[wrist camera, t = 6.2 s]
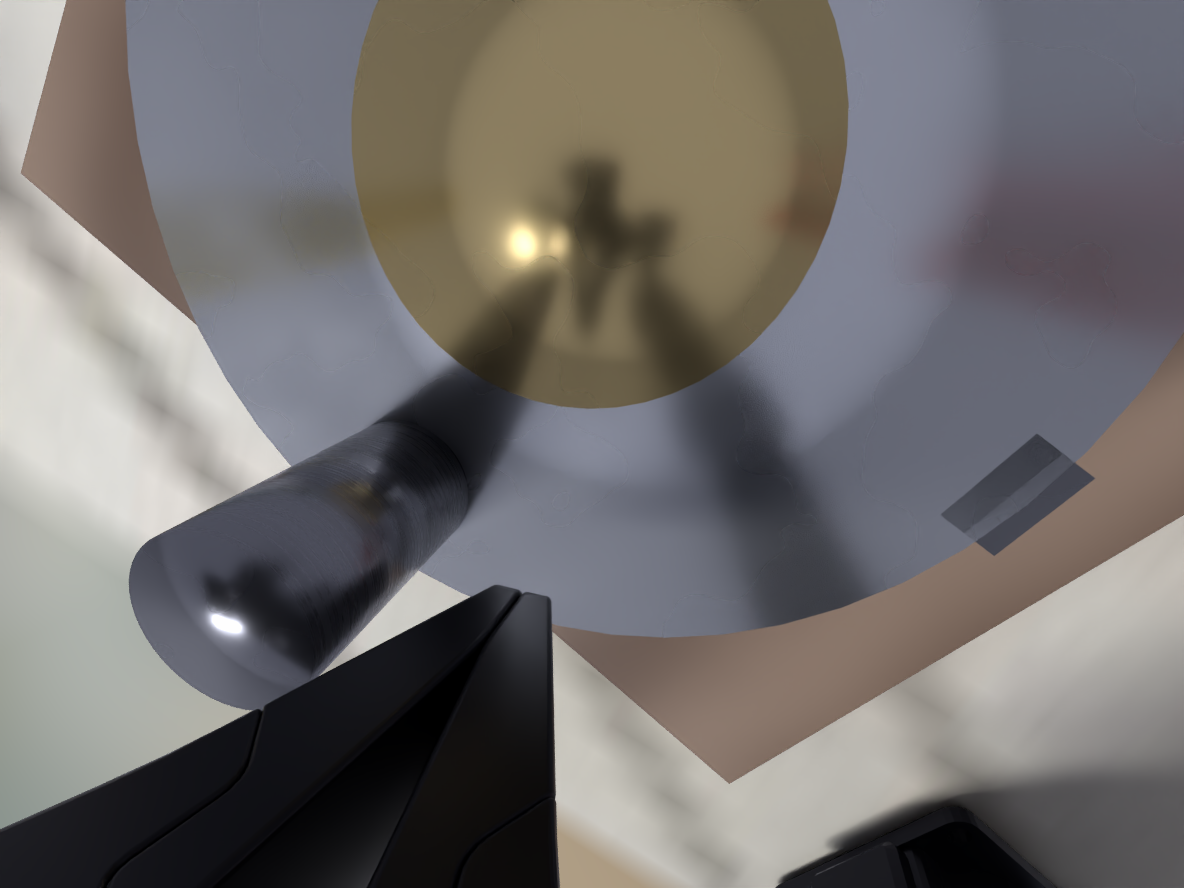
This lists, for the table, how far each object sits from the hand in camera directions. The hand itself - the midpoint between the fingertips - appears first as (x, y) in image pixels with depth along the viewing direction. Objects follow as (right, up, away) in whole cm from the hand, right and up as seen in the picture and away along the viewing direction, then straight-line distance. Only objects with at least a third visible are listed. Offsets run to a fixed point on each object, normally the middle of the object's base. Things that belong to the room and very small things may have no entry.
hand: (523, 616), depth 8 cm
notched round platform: (+2, +7, +2) cm, 7 cm away
